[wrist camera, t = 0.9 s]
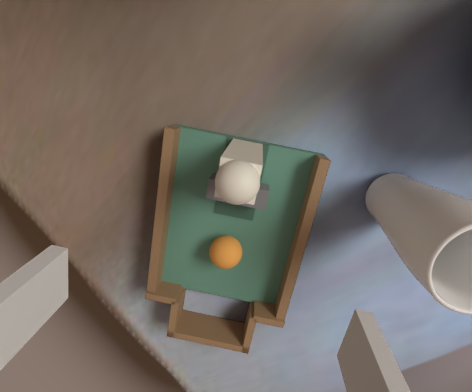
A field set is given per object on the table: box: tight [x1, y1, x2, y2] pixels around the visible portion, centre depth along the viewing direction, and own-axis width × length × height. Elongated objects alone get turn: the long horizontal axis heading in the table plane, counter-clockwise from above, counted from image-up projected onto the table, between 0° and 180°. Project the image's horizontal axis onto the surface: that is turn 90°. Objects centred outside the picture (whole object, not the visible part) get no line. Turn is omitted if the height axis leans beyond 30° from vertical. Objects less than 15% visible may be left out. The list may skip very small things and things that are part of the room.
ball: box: [209, 235, 242, 269], centre depth 33 cm, size 4×4×4 cm
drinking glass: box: [365, 173, 472, 314], centre depth 26 cm, size 7×7×15 cm
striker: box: [206, 138, 269, 210], centre depth 26 cm, size 6×6×12 cm
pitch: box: [145, 124, 331, 353], centre depth 34 cm, size 24×16×4 cm, turn 169°
